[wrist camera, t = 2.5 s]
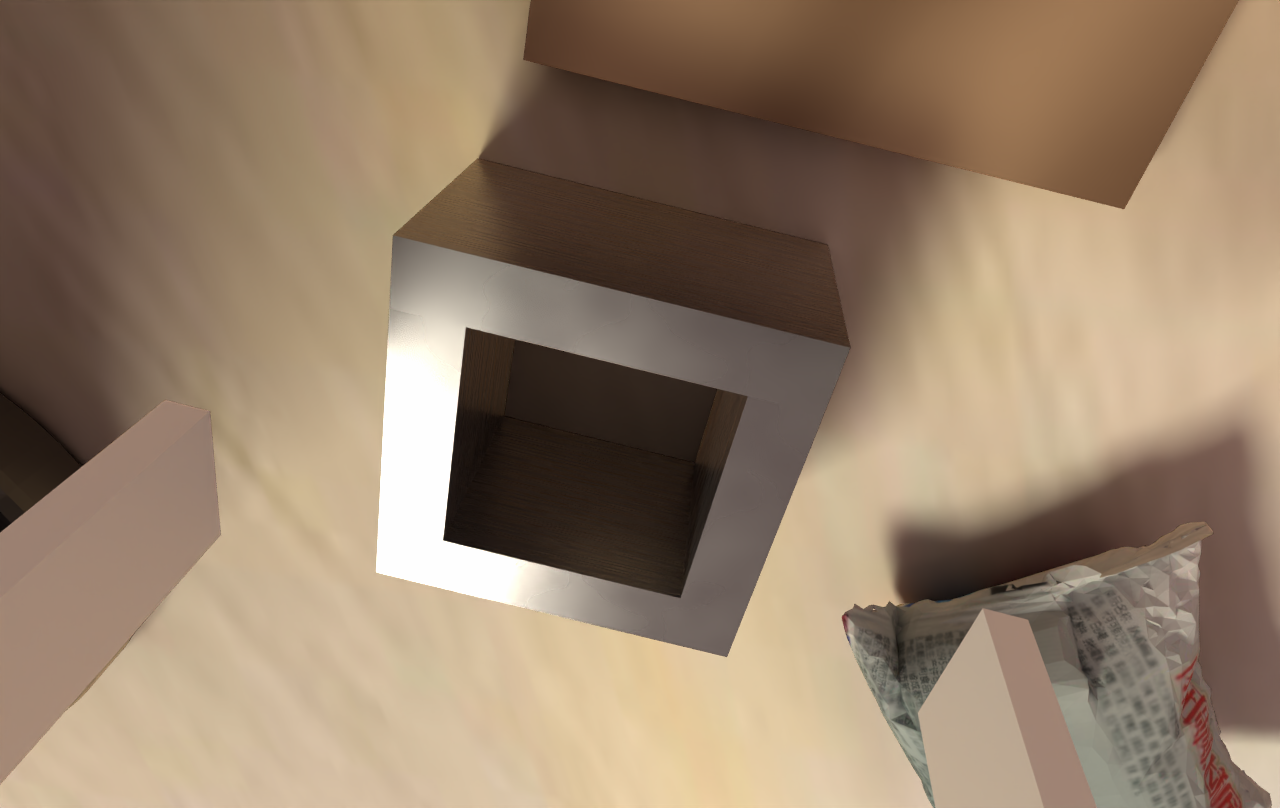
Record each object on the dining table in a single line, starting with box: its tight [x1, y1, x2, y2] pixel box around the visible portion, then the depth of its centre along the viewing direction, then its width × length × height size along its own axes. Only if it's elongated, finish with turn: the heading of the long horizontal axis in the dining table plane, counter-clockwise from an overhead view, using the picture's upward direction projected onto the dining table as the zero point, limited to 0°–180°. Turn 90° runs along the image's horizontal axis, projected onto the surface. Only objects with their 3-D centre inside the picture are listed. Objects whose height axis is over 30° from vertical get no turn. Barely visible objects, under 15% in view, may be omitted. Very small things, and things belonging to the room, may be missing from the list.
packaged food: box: [842, 522, 1272, 808], centre depth 22 cm, size 9×12×5 cm
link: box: [376, 158, 850, 657], centre depth 18 cm, size 8×8×5 cm
